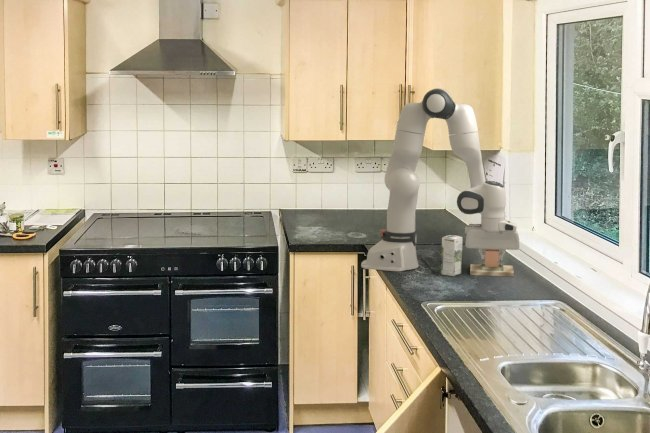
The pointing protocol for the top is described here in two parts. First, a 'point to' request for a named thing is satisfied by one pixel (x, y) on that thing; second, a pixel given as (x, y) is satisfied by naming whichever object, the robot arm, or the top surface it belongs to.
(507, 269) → the build board
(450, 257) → the syrup box
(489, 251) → the block
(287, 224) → the top surface
